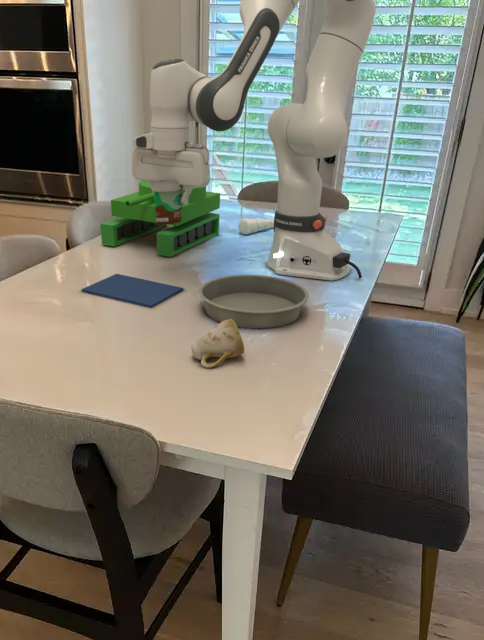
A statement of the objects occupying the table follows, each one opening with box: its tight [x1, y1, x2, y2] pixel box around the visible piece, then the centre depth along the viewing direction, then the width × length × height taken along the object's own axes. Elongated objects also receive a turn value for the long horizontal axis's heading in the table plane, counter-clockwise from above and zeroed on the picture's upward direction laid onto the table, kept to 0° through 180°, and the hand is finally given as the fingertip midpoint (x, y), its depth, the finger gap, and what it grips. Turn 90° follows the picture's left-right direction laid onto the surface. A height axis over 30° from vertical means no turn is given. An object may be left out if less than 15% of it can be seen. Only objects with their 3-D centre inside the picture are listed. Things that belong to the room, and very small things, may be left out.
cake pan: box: [197, 274, 310, 329], centre depth 135 cm, size 25×25×4 cm
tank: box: [100, 180, 221, 258], centre depth 178 cm, size 24×35×16 cm
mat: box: [81, 273, 184, 309], centre depth 145 cm, size 20×14×1 cm
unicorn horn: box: [237, 217, 274, 235], centre depth 197 cm, size 5×24×5 cm, turn 130°
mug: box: [190, 319, 245, 369], centre depth 114 cm, size 8×10×10 cm
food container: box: [153, 181, 183, 226], centre depth 147 cm, size 12×6×10 cm, turn 168°
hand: (171, 202), depth 148 cm, fingers closed on food container, 6 cm apart
